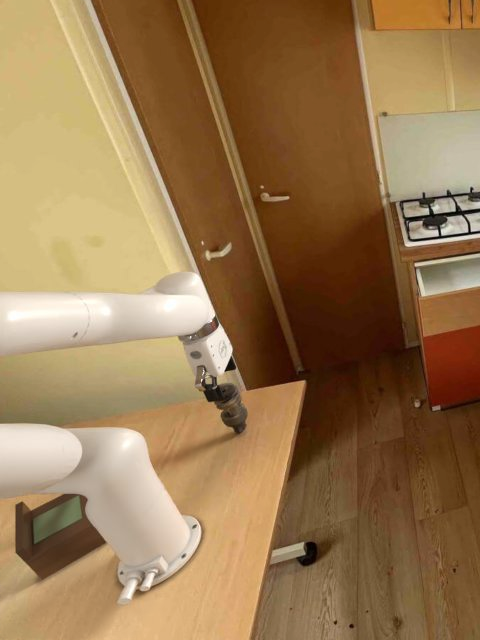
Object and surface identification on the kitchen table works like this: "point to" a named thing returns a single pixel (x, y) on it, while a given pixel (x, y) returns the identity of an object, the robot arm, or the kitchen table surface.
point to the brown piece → (54, 534)
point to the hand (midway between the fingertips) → (223, 384)
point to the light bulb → (232, 408)
